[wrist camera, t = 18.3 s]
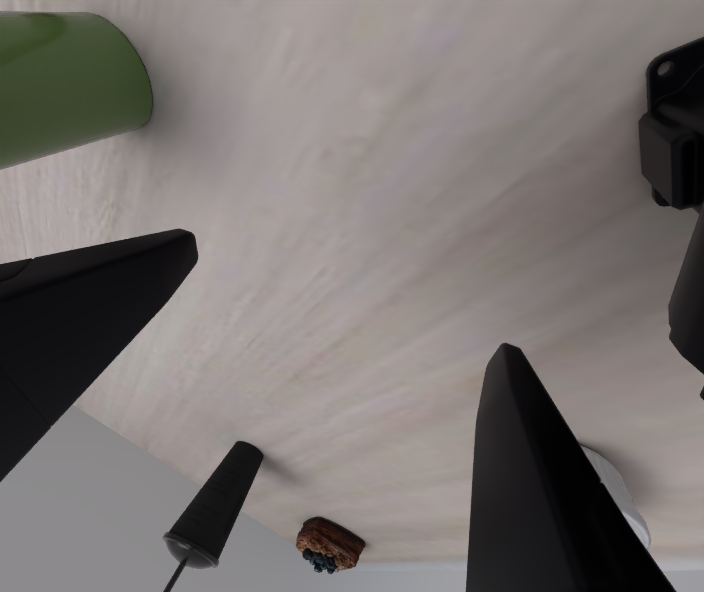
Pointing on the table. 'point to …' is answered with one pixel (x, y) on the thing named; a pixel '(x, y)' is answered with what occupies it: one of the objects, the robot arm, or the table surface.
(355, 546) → the pastry
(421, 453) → the table surface
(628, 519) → the ramekin
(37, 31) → the pickle jar
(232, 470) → the drinking cup
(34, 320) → the robot arm
